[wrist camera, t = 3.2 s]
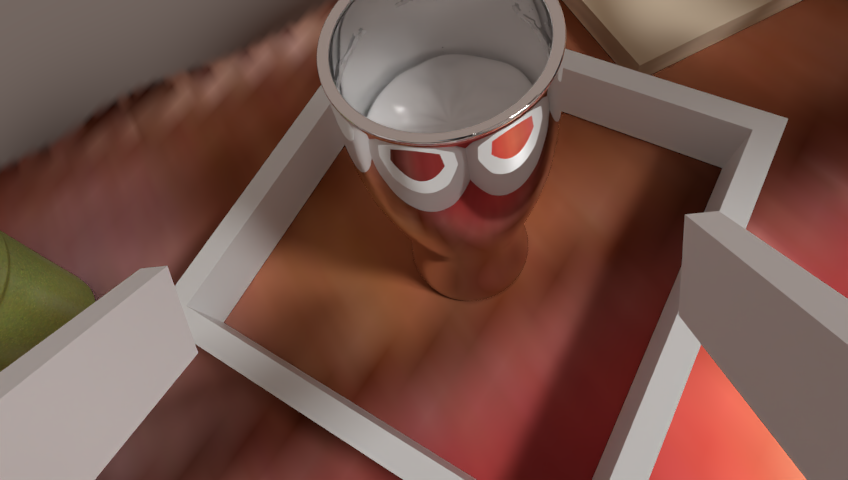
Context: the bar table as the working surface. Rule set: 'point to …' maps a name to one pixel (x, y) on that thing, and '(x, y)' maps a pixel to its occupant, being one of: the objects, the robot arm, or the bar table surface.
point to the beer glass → (450, 124)
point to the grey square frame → (581, 96)
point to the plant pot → (34, 299)
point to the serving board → (666, 26)
